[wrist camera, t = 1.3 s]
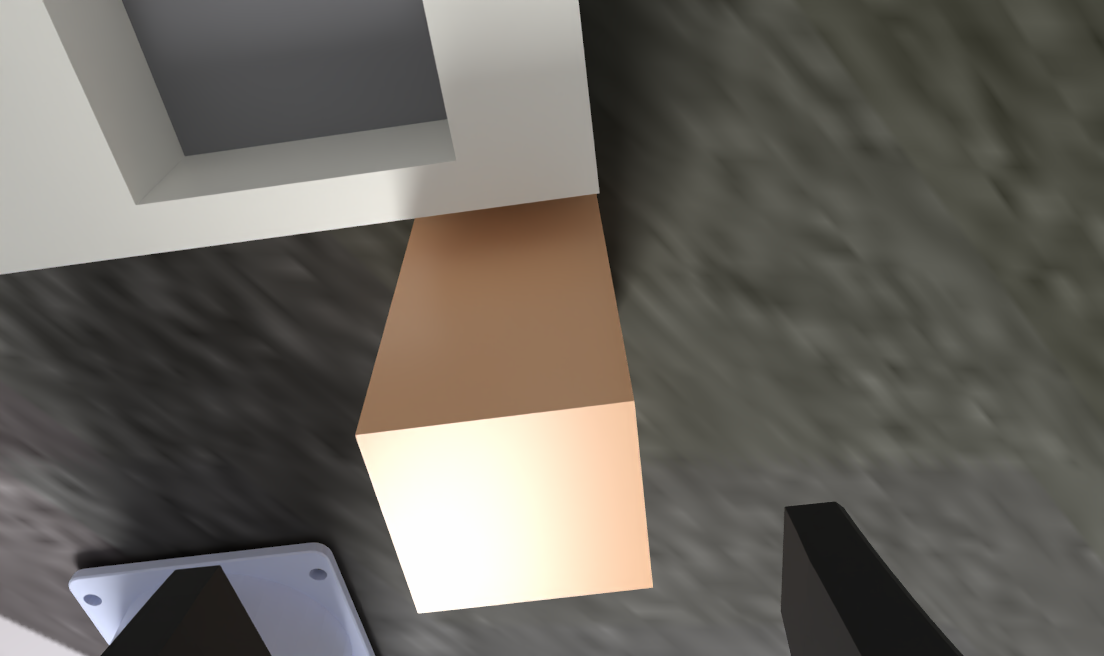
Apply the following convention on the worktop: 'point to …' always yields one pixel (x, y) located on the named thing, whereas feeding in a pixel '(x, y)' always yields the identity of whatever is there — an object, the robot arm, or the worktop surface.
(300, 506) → the worktop surface
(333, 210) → the white compartment tray
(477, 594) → the plug
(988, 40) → the worktop surface
